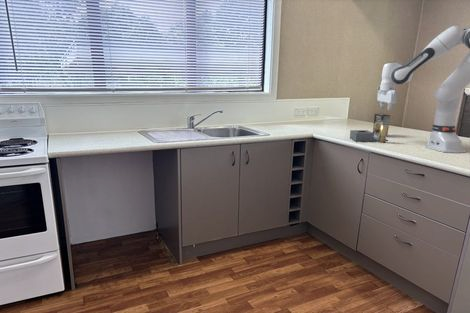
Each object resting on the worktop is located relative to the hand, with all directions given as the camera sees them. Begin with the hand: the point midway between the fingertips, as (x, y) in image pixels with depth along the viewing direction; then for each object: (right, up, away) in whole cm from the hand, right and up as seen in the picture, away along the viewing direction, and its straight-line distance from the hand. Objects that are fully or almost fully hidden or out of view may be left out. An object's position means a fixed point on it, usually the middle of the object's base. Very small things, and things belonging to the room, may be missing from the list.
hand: (385, 109), depth 222 cm
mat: (+1, -19, +16) cm, 25 cm away
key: (0, -22, +5) cm, 22 cm away
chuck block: (-11, -20, +13) cm, 26 cm away
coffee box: (+9, -16, +29) cm, 34 cm away
